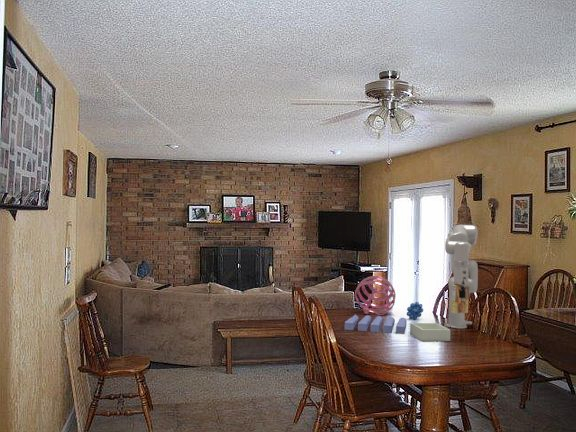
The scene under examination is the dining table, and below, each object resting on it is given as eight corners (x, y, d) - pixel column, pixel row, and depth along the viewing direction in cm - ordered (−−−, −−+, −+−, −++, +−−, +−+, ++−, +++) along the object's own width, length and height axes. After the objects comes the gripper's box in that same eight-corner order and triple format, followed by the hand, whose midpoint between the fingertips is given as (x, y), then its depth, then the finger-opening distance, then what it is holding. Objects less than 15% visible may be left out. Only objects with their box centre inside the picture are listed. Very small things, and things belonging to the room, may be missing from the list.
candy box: (463, 311, 319) (464, 284, 319) (468, 313, 315) (469, 285, 315) (450, 312, 315) (451, 284, 316) (455, 313, 312) (456, 285, 312)
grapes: (420, 318, 383) (421, 300, 383) (424, 320, 376) (424, 302, 376) (404, 318, 381) (404, 300, 381) (407, 320, 374) (408, 302, 374)
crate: (436, 334, 329) (437, 323, 329) (450, 341, 309) (450, 329, 309) (410, 334, 328) (410, 322, 328) (421, 341, 308) (422, 329, 308)
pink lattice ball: (381, 290, 371) (389, 265, 392) (344, 296, 386) (353, 271, 407) (397, 321, 382) (404, 295, 403) (360, 326, 396) (369, 301, 417)
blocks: (344, 330, 335) (344, 322, 335) (352, 320, 369) (352, 313, 369) (404, 335, 327) (404, 326, 327) (406, 324, 360) (406, 317, 360)
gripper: (474, 265, 307) (473, 299, 307) (460, 263, 324) (459, 294, 324) (461, 265, 306) (460, 299, 306) (448, 263, 323) (447, 294, 323)
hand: (459, 296), depth 315 cm, fingers closed on candy box, 5 cm apart
